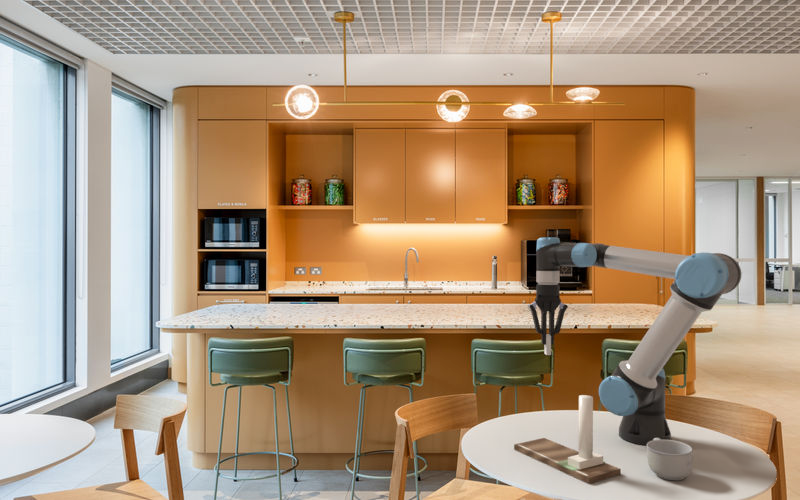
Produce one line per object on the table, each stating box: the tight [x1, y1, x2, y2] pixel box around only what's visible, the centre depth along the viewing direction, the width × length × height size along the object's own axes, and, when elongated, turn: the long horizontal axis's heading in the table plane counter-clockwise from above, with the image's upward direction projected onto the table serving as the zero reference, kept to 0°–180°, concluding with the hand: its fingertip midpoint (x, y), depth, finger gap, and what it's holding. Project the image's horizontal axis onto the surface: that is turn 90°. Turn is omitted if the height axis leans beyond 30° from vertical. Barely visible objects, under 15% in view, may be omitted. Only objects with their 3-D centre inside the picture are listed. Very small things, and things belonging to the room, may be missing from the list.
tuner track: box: [513, 437, 622, 485], centre depth 156 cm, size 28×12×2 cm, turn 30°
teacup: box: [645, 438, 693, 481], centre depth 148 cm, size 14×11×8 cm
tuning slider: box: [568, 394, 604, 470], centre depth 149 cm, size 4×9×18 cm, turn 120°
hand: (547, 354), depth 186 cm, fingers closed
